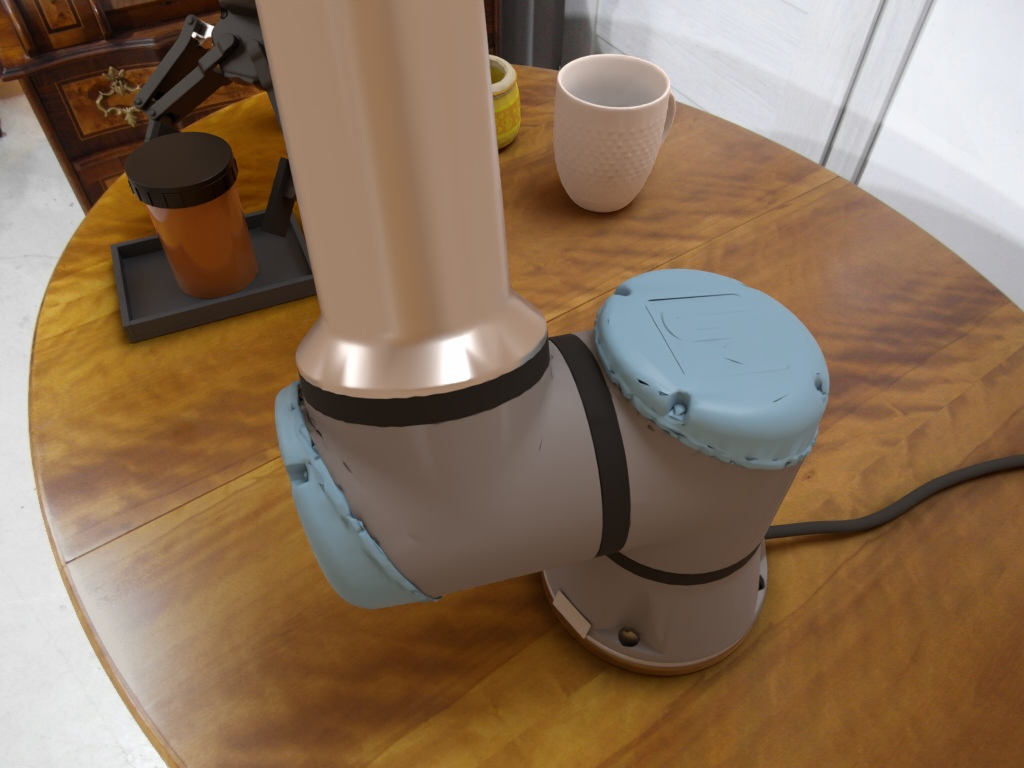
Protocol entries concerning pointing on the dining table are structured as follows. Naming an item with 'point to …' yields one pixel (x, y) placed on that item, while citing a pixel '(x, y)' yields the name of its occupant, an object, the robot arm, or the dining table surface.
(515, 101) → the yellow honey pot
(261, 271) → the tray
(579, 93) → the mug
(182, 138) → the jar lid
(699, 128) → the dining table surface
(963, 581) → the dining table surface
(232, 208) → the jar
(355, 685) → the dining table surface
